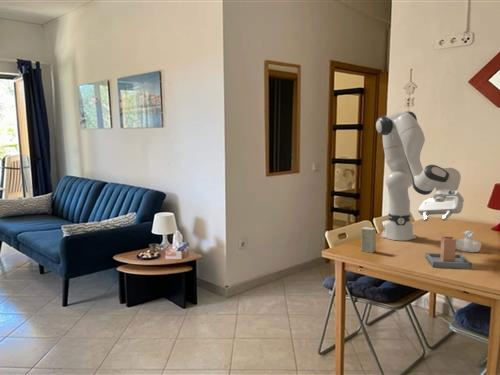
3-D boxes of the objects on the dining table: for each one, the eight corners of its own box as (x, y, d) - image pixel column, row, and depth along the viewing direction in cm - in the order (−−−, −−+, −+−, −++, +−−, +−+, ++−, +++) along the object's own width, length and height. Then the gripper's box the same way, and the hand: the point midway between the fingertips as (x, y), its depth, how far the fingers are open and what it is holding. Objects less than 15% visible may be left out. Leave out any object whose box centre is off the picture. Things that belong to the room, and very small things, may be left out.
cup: (440, 259, 189) (441, 236, 187) (451, 259, 188) (452, 236, 186) (443, 262, 184) (444, 239, 182) (454, 262, 183) (456, 239, 182)
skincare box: (375, 251, 206) (376, 228, 205) (371, 253, 203) (372, 229, 202) (364, 249, 211) (364, 226, 209) (360, 251, 207) (361, 228, 206)
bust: (480, 256, 203) (481, 236, 208) (481, 250, 197) (482, 229, 202) (454, 253, 209) (455, 233, 214) (453, 247, 203) (455, 227, 208)
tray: (425, 257, 194) (425, 252, 194) (460, 259, 191) (461, 254, 191) (432, 267, 181) (433, 261, 180) (471, 268, 178) (471, 263, 177)
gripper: (420, 194, 198) (411, 216, 193) (461, 191, 181) (452, 215, 176) (427, 202, 201) (418, 224, 195) (467, 199, 184) (459, 223, 178)
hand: (434, 220), depth 185 cm, fingers open, 8 cm apart
